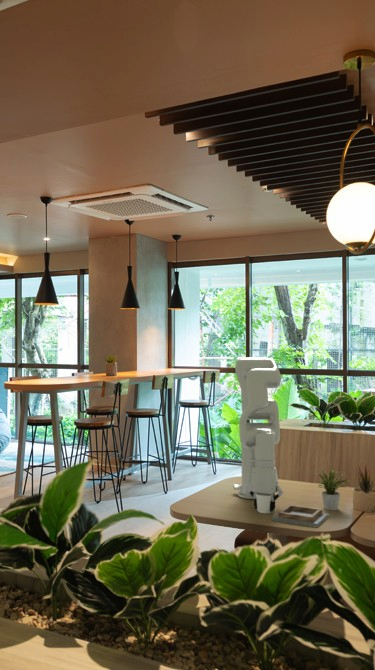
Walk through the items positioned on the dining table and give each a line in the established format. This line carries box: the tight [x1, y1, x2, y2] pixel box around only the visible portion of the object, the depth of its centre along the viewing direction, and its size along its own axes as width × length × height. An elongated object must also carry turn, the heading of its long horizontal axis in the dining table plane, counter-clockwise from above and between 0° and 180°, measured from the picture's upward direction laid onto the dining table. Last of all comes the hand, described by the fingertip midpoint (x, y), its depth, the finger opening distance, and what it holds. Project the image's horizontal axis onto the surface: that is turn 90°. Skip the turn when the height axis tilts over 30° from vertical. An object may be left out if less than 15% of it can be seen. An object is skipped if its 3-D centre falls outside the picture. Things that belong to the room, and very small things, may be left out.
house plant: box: [314, 466, 351, 511], centre depth 241 cm, size 14×14×16 cm
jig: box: [271, 504, 329, 528], centre depth 227 cm, size 17×15×3 cm
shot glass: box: [256, 493, 272, 514], centre depth 236 cm, size 7×7×7 cm
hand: (264, 509), depth 236 cm, fingers closed on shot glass, 5 cm apart
